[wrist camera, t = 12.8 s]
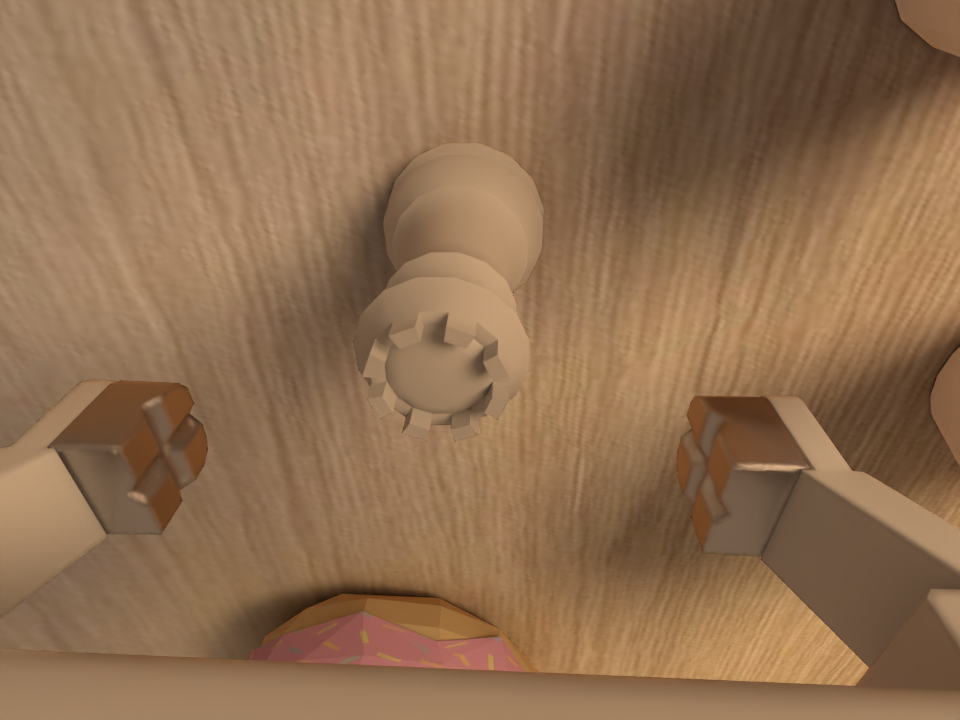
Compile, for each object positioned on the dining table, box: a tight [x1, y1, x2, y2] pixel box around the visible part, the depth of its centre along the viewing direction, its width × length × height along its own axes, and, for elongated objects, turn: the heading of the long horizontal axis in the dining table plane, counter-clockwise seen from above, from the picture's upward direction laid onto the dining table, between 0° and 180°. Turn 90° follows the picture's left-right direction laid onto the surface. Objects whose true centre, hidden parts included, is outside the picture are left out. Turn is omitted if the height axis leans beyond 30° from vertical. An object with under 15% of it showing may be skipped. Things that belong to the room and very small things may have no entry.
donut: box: [248, 594, 538, 672], centre depth 28 cm, size 16×15×5 cm
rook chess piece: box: [353, 143, 544, 442], centre depth 13 cm, size 4×4×8 cm
